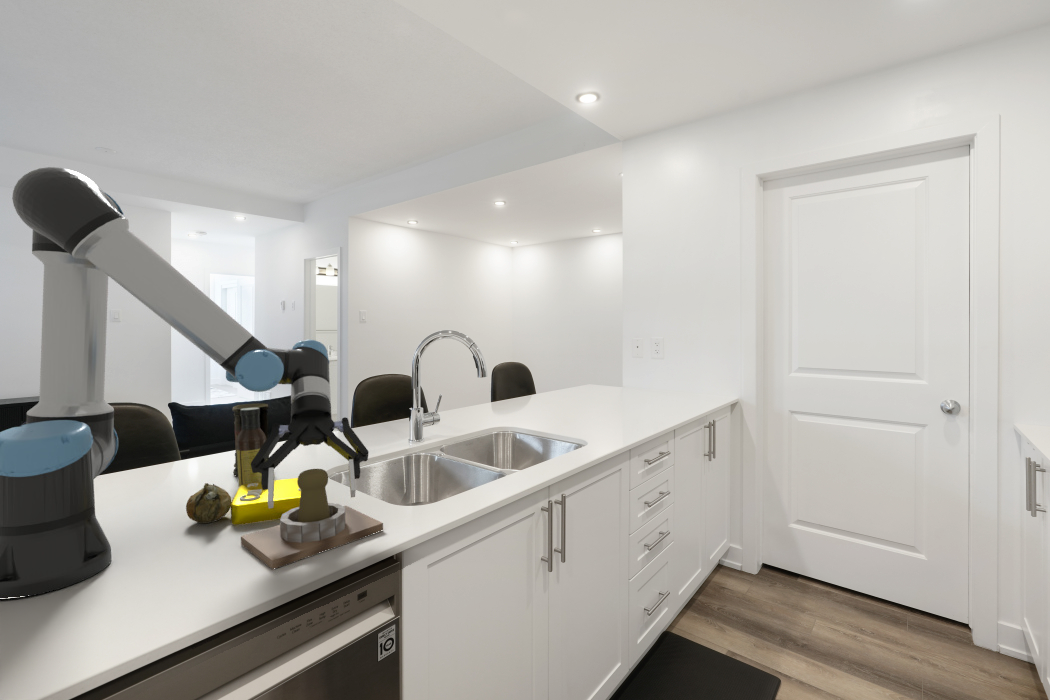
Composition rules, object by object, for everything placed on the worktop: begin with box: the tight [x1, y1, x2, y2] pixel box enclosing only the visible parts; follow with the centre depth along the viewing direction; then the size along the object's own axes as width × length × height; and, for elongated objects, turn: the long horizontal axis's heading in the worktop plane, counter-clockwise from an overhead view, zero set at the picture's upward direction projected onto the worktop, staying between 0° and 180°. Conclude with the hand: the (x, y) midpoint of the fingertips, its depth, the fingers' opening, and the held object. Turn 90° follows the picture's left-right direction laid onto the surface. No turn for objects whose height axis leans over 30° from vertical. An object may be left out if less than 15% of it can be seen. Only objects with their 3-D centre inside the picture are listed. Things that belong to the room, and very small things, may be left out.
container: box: [232, 403, 270, 477], centre depth 132 cm, size 9×9×18 cm
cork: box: [297, 468, 330, 523], centre depth 91 cm, size 6×6×11 cm
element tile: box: [230, 477, 301, 526], centre depth 106 cm, size 15×15×5 cm
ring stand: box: [240, 502, 384, 570], centre depth 91 cm, size 20×14×4 cm
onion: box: [185, 482, 232, 524], centre depth 100 cm, size 8×8×8 cm
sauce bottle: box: [237, 408, 268, 488], centre depth 116 cm, size 6×6×20 cm
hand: (313, 499), depth 89 cm, fingers open, 13 cm apart
